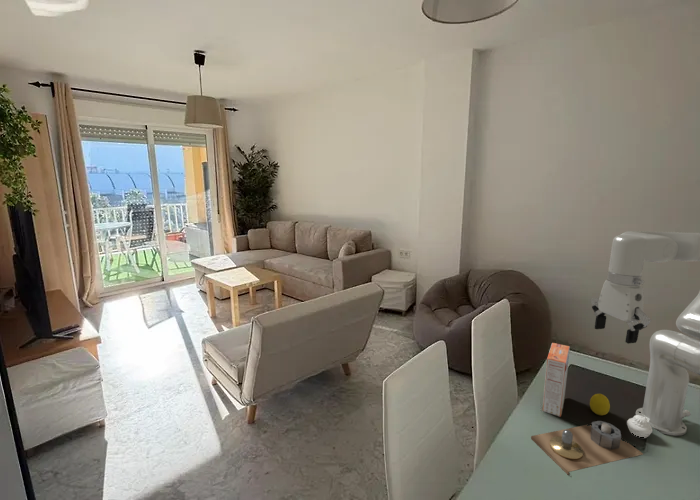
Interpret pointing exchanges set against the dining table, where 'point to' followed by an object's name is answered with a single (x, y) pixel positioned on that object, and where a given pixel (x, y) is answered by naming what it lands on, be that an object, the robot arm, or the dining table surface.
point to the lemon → (599, 404)
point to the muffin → (639, 426)
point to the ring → (605, 436)
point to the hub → (566, 446)
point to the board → (585, 449)
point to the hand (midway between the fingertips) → (614, 335)
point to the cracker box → (556, 379)
